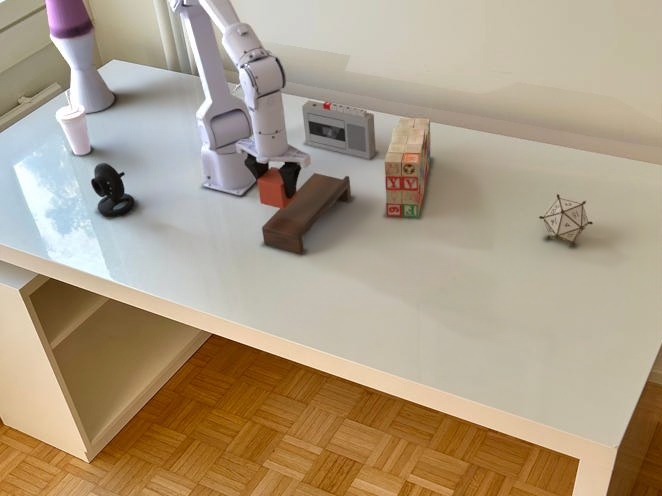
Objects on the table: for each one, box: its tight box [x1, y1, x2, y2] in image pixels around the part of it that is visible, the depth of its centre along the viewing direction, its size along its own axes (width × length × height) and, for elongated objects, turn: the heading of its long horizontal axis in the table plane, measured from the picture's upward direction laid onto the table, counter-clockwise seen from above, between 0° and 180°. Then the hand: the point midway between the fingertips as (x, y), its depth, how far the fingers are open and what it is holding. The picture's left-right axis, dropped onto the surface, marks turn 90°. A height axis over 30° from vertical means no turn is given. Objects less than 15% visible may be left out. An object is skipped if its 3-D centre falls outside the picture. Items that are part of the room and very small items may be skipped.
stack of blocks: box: [384, 117, 431, 218], centre depth 171 cm, size 21×6×12 cm, turn 168°
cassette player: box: [301, 100, 377, 160], centre depth 184 cm, size 16×3×10 cm, turn 59°
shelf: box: [261, 172, 352, 255], centre depth 168 cm, size 8×20×5 cm, turn 151°
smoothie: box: [55, 90, 92, 156], centre depth 191 cm, size 6×6×14 cm
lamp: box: [45, 0, 115, 114], centre depth 199 cm, size 11×11×40 cm
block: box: [256, 166, 298, 209], centre depth 161 cm, size 5×5×5 cm
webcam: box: [90, 162, 135, 218], centre depth 175 cm, size 8×8×10 cm
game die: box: [538, 193, 594, 247], centre depth 156 cm, size 9×8×10 cm
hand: (278, 192), depth 162 cm, fingers closed on block, 5 cm apart
